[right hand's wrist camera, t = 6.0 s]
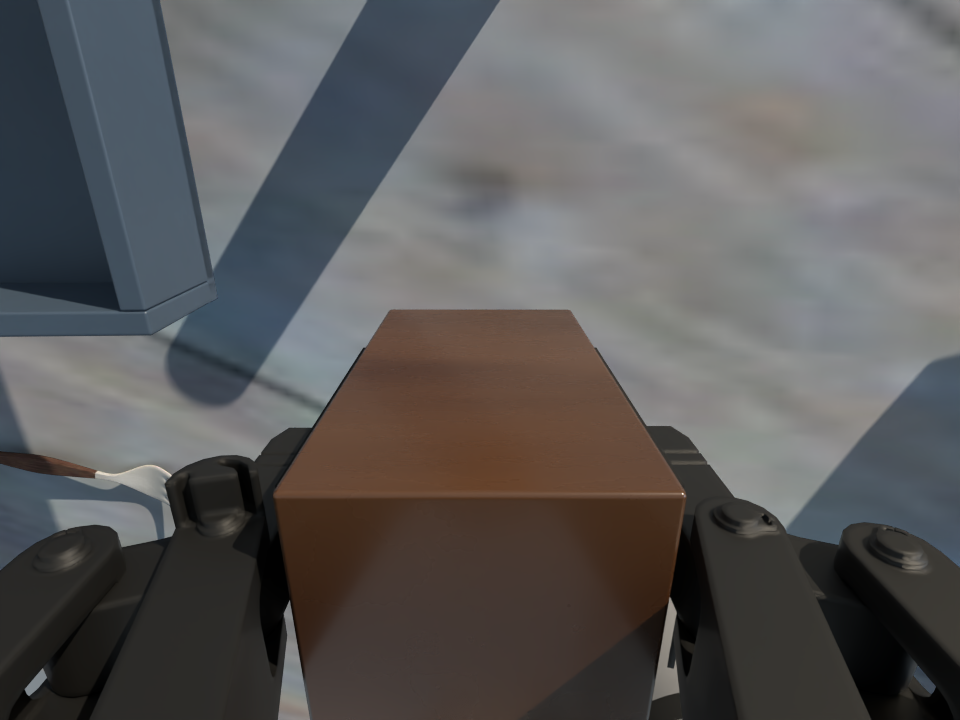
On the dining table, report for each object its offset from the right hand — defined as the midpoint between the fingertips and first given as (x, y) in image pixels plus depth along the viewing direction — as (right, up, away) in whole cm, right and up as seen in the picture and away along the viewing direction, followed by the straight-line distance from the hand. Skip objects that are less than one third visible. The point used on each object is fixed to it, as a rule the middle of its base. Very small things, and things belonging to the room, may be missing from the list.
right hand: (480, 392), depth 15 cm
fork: (-26, -6, +19) cm, 33 cm away
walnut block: (0, 0, 0) cm, 0 cm away
